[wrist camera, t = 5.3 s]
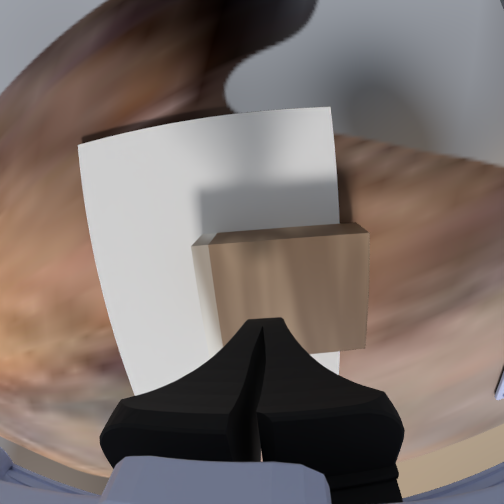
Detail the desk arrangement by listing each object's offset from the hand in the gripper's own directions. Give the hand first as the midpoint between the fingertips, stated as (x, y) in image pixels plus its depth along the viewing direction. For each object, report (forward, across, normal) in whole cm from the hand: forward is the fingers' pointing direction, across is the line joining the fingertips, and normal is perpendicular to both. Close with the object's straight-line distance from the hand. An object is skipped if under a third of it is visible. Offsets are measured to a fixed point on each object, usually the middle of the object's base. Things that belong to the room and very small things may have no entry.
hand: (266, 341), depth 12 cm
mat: (+6, +3, 0) cm, 7 cm away
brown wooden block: (+5, -5, 0) cm, 7 cm away
